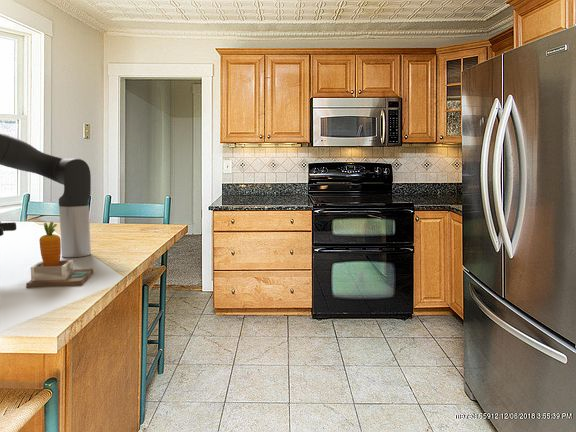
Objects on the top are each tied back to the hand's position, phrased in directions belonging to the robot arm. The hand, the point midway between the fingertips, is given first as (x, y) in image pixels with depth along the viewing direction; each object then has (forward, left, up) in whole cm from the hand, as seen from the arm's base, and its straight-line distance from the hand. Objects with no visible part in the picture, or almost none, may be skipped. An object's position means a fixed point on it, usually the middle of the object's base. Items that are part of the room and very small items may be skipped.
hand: (9, 228), depth 120 cm
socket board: (+1, +13, -14) cm, 19 cm away
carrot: (+2, +11, -13) cm, 17 cm away
